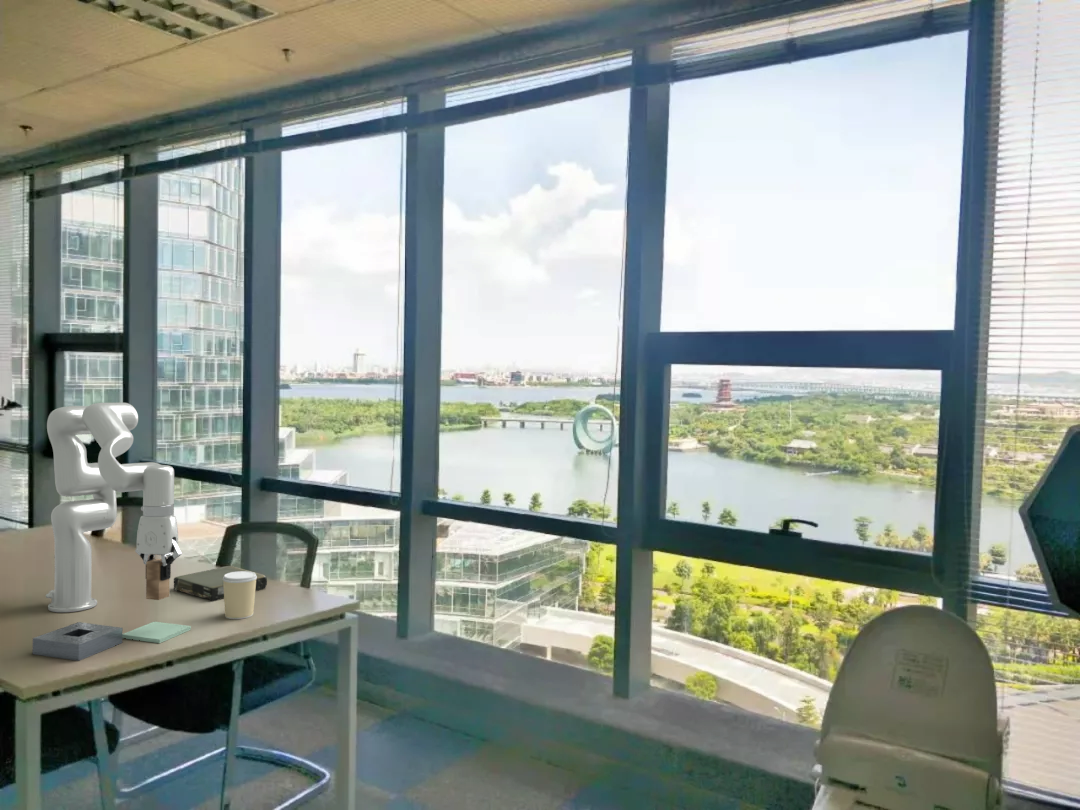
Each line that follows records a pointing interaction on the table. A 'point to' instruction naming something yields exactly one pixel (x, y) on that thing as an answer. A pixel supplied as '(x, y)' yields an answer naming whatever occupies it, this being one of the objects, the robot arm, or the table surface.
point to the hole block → (77, 641)
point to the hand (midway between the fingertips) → (158, 578)
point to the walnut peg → (155, 581)
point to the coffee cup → (239, 594)
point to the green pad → (156, 632)
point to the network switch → (211, 582)
